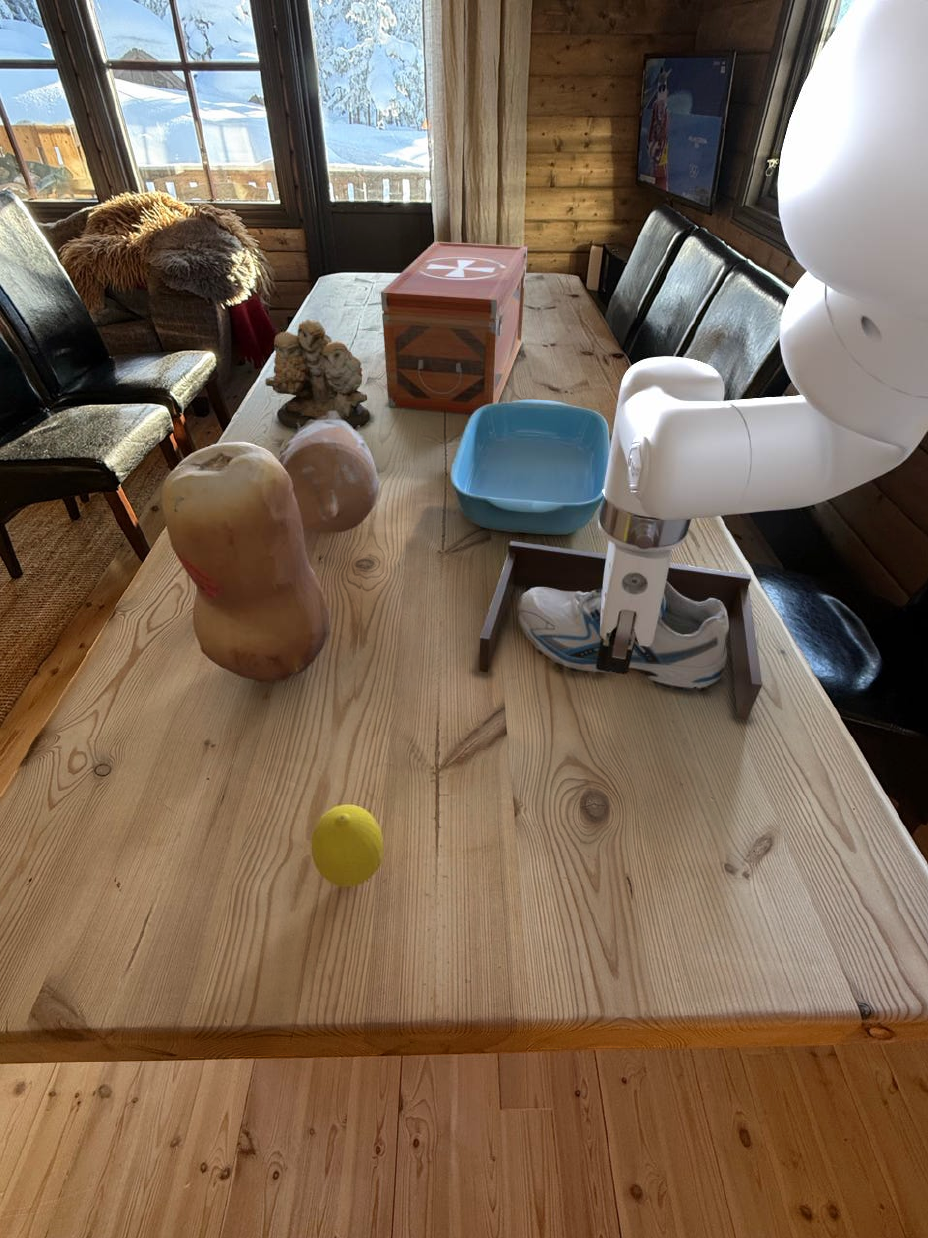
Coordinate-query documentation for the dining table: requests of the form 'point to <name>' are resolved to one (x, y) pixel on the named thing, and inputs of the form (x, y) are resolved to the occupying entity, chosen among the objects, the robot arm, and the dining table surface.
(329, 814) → the lemon
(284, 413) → the owl figurine
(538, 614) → the athletic shoe
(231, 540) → the butternut squash
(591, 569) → the shoe rack
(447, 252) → the wooden box
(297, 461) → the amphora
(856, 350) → the robot arm
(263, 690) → the dining table surface
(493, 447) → the casserole dish
